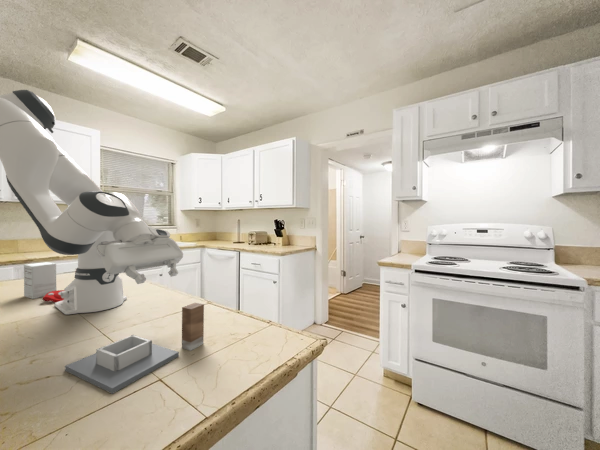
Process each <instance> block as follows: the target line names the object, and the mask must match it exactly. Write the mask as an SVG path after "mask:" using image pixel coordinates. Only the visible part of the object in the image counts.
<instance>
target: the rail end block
mask: <svg viewBox="0 0 600 450" xmlns="http://www.w3.org/2000/svg"><path fill="white" fill-rule="evenodd" d="M204 310H205V304H204V303H199V302H193V303H191V304H187V305H186V306H183V307H181V348H182V349H184V350H187V351H190V352H191V351H193V350H195V349H197V348H199V347H200V346H202V345H203V344H204V334H205V333H204V328H205V327H204V324H205V323H204V321H205V318H204V317H205V315H204V314H205V311H204Z"/></svg>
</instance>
